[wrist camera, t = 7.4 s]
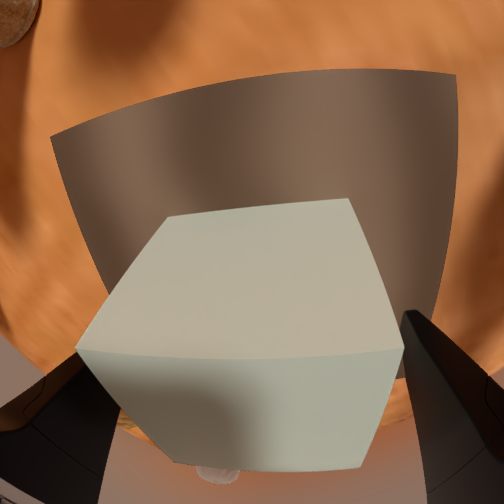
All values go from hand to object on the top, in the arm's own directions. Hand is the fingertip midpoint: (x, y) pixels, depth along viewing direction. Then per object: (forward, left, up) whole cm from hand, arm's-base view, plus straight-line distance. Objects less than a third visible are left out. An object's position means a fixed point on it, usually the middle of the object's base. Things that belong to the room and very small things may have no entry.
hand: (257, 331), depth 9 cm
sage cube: (0, 0, -2) cm, 3 cm away
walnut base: (0, 0, -6) cm, 6 cm away
